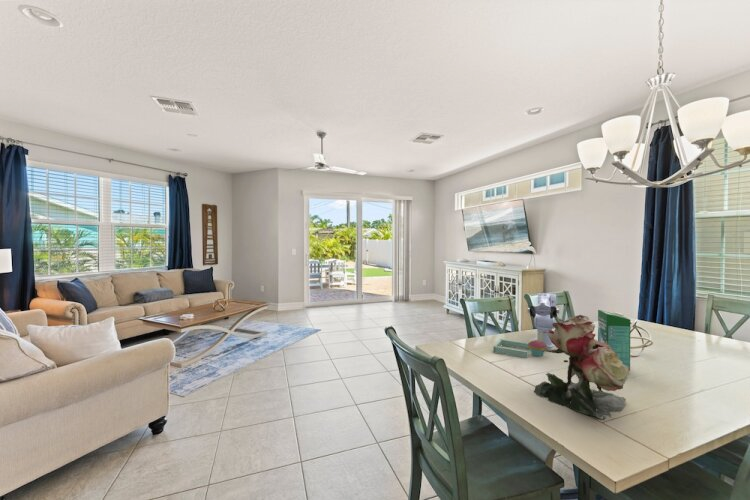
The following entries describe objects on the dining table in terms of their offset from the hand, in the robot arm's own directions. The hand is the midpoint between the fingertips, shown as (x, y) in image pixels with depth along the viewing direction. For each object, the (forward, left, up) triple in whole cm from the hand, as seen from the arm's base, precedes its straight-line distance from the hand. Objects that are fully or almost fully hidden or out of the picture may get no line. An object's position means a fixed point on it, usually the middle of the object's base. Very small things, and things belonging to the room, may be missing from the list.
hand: (542, 316), depth 163 cm
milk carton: (-2, +29, -20) cm, 35 cm away
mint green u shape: (-1, -13, -20) cm, 24 cm away
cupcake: (-1, -2, -20) cm, 20 cm away
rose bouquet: (+39, +19, -20) cm, 48 cm away
